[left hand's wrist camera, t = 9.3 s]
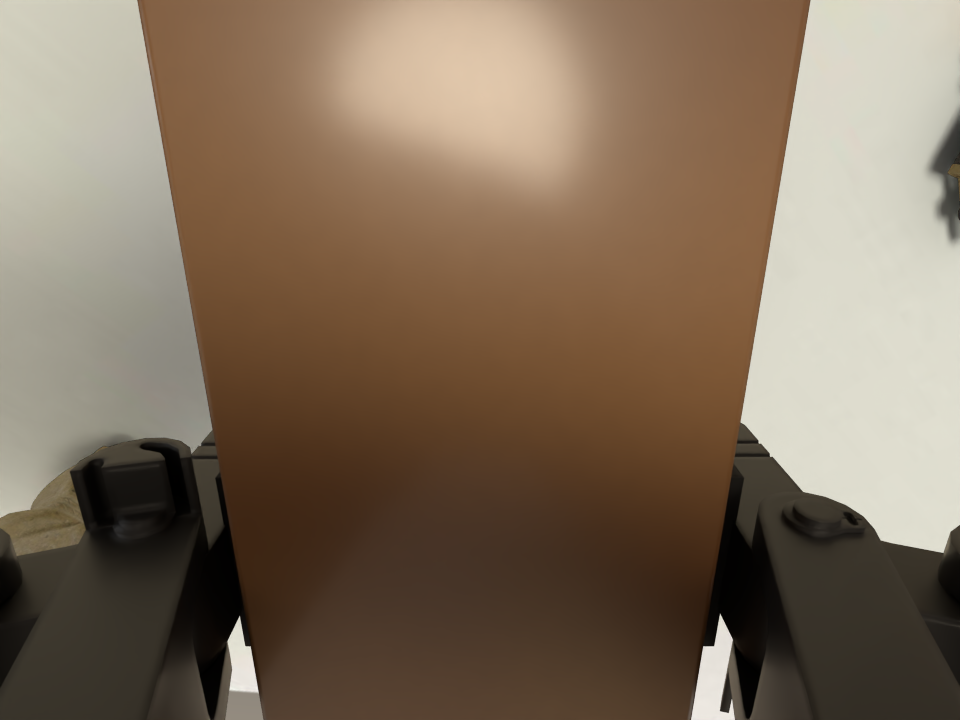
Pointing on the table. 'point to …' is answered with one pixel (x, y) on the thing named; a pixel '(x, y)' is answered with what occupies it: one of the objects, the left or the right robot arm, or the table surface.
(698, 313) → the beam
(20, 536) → the sculpture
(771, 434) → the table surface
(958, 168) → the spray gun
